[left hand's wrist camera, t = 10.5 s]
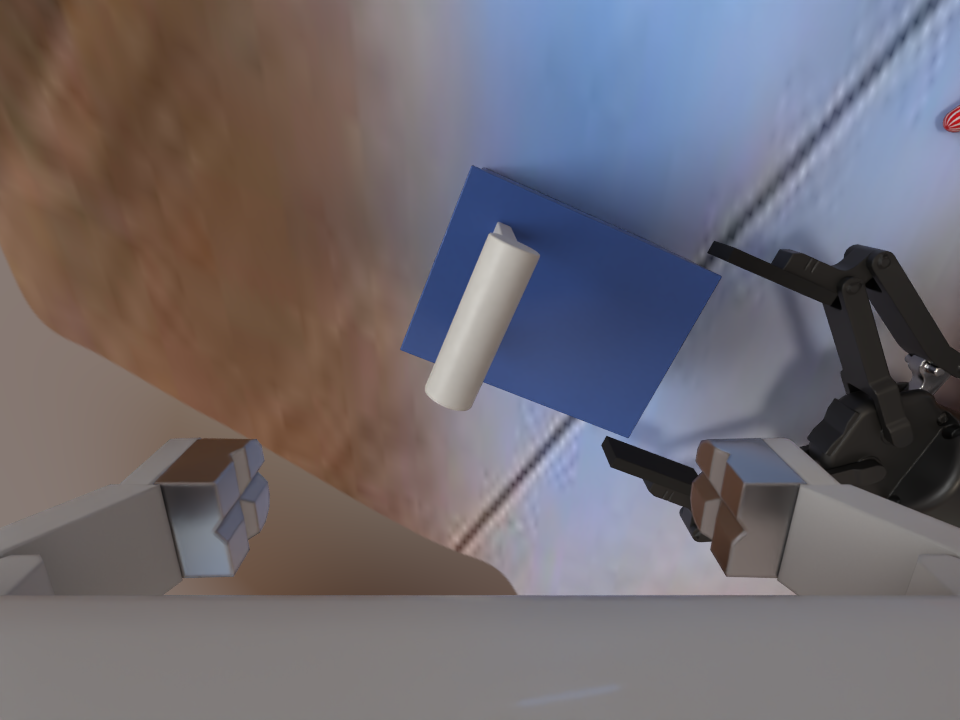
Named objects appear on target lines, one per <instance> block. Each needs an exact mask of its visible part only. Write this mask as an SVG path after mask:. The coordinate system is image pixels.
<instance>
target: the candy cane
mask: <svg viewBox="0 0 960 720" xmlns="http://www.w3.org/2000/svg"><path fill="white" fill-rule="evenodd" d="M943 127H944V128H945V129H946V130H947V131H949V132H959V131H960V105H959V106H958V107H956V108H955V109H953V110H952V111H951V112H949V113H948V114H947V115H946V116H945V118H944V120H943Z"/></svg>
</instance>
